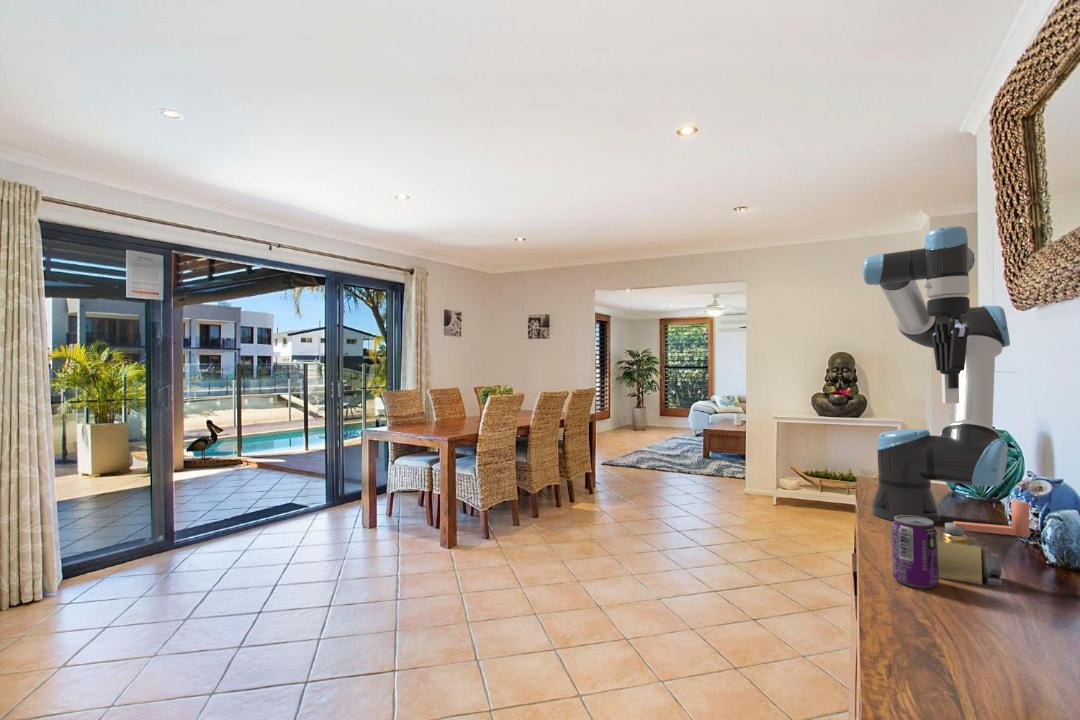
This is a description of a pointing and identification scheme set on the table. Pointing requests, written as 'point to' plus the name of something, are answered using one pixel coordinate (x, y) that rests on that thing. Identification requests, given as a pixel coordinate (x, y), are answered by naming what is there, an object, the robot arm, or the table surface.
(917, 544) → the beverage can
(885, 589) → the table surface
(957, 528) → the lever
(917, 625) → the table surface
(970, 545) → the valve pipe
